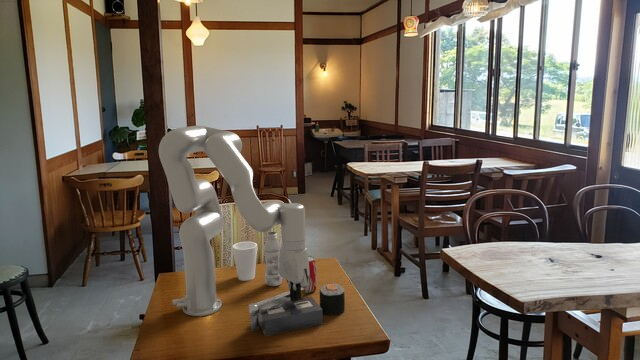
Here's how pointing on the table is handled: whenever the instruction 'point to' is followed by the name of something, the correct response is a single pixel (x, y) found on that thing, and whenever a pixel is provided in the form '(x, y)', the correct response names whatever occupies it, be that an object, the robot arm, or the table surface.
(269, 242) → the plastic bottle
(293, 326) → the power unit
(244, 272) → the foam cup
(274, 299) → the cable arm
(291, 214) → the robot arm
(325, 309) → the sushi
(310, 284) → the soda can
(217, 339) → the table surface
